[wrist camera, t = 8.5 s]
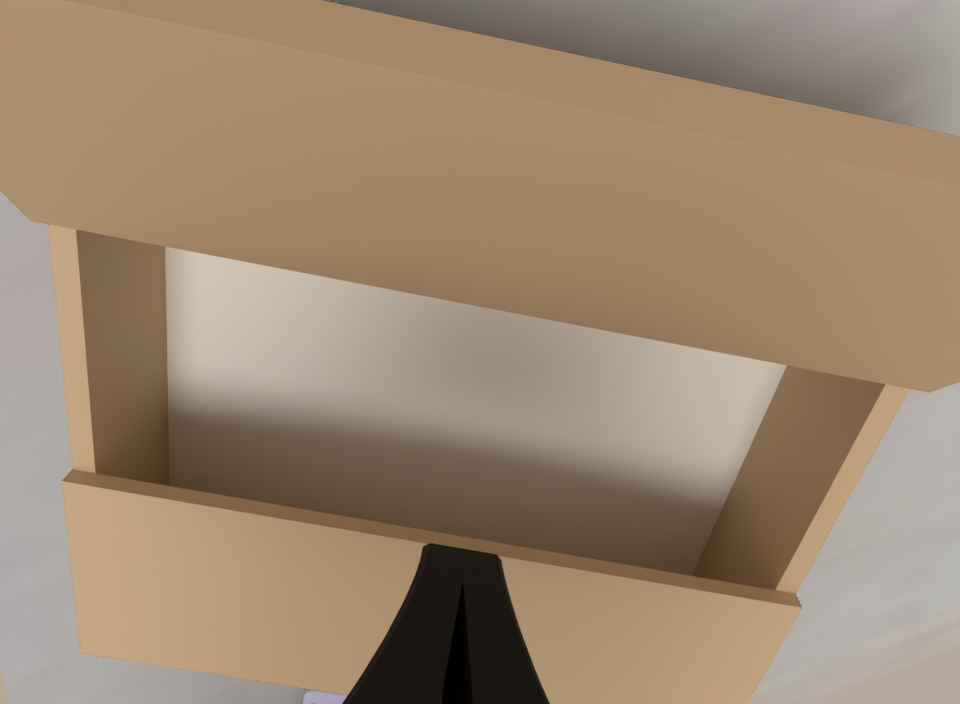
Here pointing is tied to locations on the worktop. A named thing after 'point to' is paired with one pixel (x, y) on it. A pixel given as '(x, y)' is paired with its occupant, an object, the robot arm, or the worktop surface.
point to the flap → (490, 177)
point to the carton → (430, 477)
